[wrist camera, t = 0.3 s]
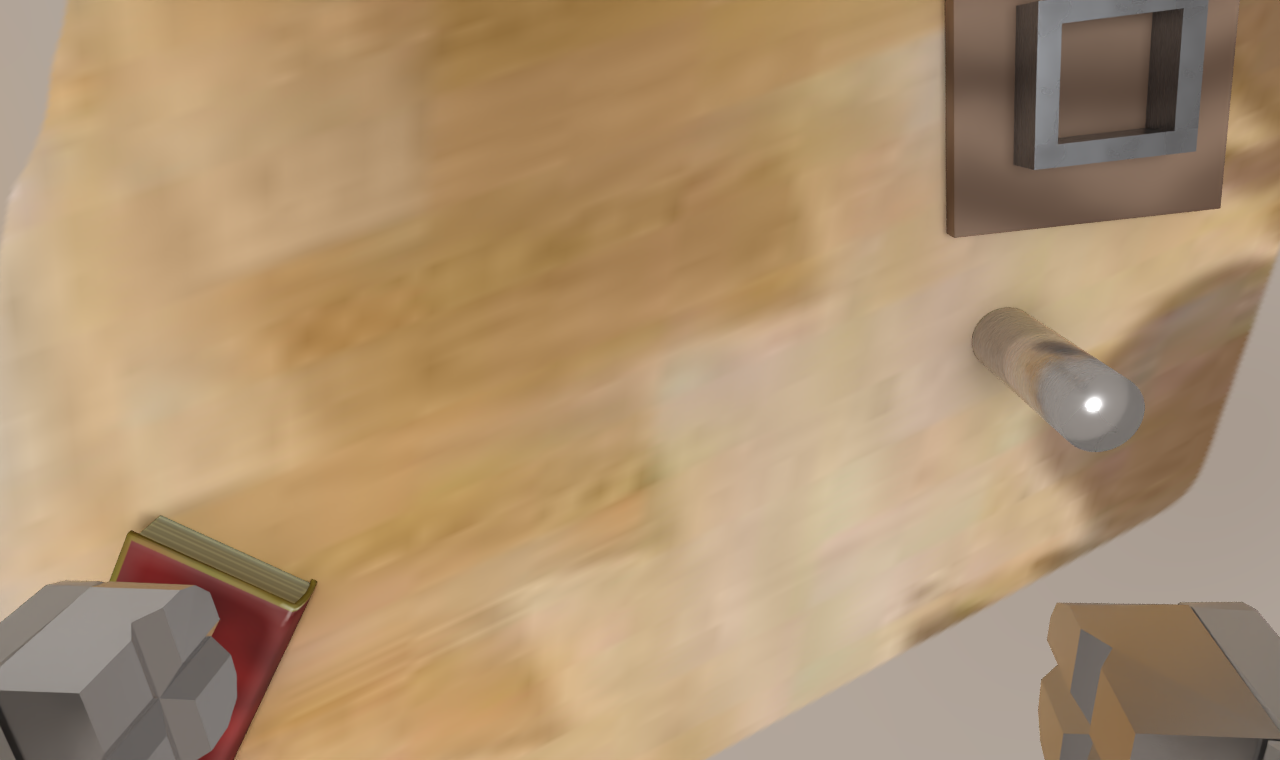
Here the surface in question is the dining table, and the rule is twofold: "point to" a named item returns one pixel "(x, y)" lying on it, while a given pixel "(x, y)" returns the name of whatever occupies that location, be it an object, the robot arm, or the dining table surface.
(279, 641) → the hardcover book
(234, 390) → the dining table surface
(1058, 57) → the socket collar
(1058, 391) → the steel pin
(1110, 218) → the socket board
